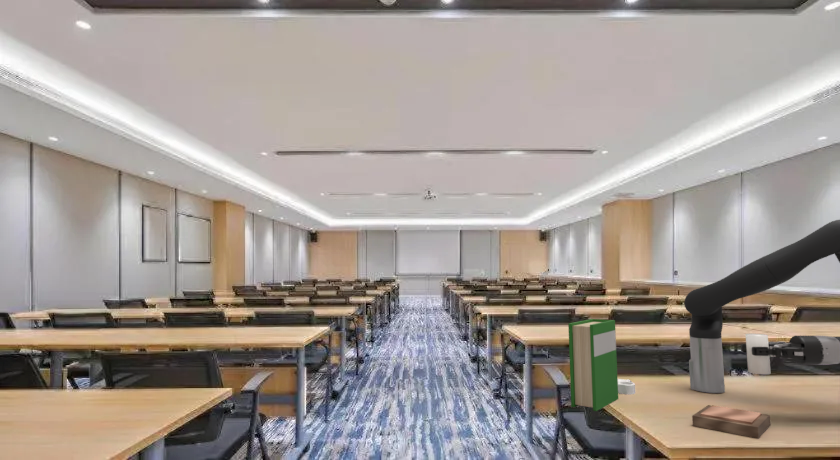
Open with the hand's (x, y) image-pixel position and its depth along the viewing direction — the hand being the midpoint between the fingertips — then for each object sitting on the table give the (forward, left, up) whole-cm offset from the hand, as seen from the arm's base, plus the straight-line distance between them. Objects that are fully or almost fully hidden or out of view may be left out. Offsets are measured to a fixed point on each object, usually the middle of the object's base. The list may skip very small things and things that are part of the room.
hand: (747, 349), depth 133 cm
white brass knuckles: (-42, +7, -18) cm, 47 cm away
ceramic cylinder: (+2, +2, -6) cm, 7 cm away
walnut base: (-2, -11, -18) cm, 21 cm away
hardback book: (-37, -13, -18) cm, 43 cm away
